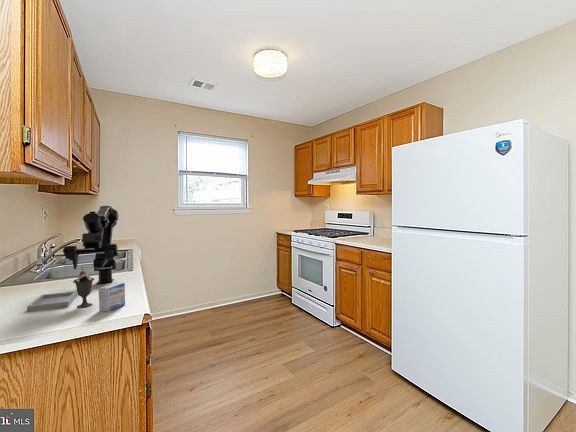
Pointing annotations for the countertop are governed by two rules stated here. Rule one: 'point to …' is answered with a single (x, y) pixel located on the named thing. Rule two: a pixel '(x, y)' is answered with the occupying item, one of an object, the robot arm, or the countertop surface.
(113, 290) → the medicine box
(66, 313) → the countertop surface
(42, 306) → the tray
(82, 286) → the sundae
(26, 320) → the countertop surface
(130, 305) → the countertop surface
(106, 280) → the robot arm
